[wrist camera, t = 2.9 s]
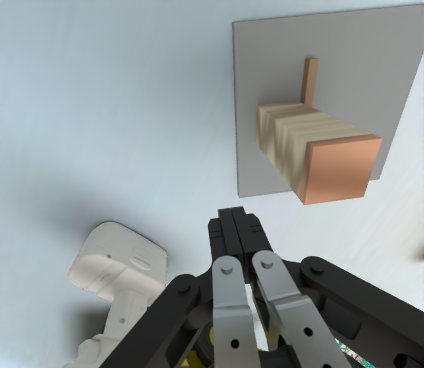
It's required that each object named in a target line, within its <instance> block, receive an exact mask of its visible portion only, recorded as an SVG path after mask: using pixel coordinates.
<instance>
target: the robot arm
mask: <svg viewBox="0 0 424 368" xmlns="http://www.w3.org/2000/svg"><path fill="white" fill-rule="evenodd" d="M208 231H209V239H210V247H211V254H212V265H211V267H210V268H209V270H208V271H206V272H205V273H204V274H202V275H200V276H197V277H195V276H193V275H190V274H182V275H179V276H177V277H175V278H174V279H173V280H172V281H171V282H170V284H169V285H168V286H167V287H166V288H165V289H164V291H163V292H162V293H161V294H160V295H159V297H158V298H157V299H156V300H155V301H154V302H153V304H152V305H151V306H150V307H149V308H148V310H147V311H146V312H145V313H144V314H143V316H142V317H141V318H140V319H139V320H138V321H137V323H136V324H135V325H134V326H133V327H132V329H131V330H130V331H129V332H128V333H127V335H126V336H125V337H124V338H123V339H122V340H121V342H120V343H119V344H118V345H117V346H116V348H115V349H114V350H113V351H112V352H111V353H110V355H109V356H108V357H107V358H106V359H105V361H104V362H103V363H102V364H101V365H100V367H99V368H180V367H181V365H182V363H183V362H184V360H185V358H186V357H187V355H188V353H189V352H190V350H191V348H192V347H193V345H194V343H195V342H196V340H197V338H198V337H199V335H200V333H201V332H202V330H203V328H204V326H205V324H207V323H208V322H210V321H212V320H213V332H214V362H215V363H214V364H212V365H211V366H209V367H208V368H366V367H364V366H363V365H362V364H360V363H359V362H358V361H357V360H355V359H354V358H353V357H351V356H349V355H348V354H346V353H345V352H343V351H342V350H341V348H340V347H339V345H338V343H337V342H336V340H335V338H336V339H337V340H339V341H340V342H341V343H343V344H344V345H346V346H347V347H348V348H350V349H351V350H352V351H354V352H355V353H357V354H358V355H359V356H361V357H362V358H363V359H365V360H366V361H368V362H369V363H370V364H372V365H373V366H374V367H376V368H424V312H423V311H421V310H419V309H417V308H415V307H414V306H412V305H410V304H408V303H406V302H404V301H402V300H400V299H398V298H396V297H395V296H393V295H391V294H389V293H387V292H385V291H383V290H381V289H379V288H377V287H376V286H374V285H372V284H370V283H368V282H366V281H364V280H362V279H360V278H358V277H357V276H355V275H353V274H351V273H349V272H347V271H345V270H343V269H341V268H339V267H338V266H336V265H334V264H332V263H330V262H328V261H326V260H324V259H322V258H320V257H316V256H309V257H306V258H304V259H303V260H302V261H301V263H298V262H291V261H286V260H283V259H281V258H280V257H279V256H278V255H277V254H276V253H274V252H273V250H272V248H271V246H270V243H269V241H268V239H267V237H266V234H265V232H264V230H263V228H262V226H261V223H260V221H259V219H258V218H257V217H256V216H255V215H254V214H253V213H252V214H246V213H245V211H244V208H243V206H240V207H232V208H225V209H218V218H215V219H210V221H209V224H208ZM244 282H245V284H250V285H251V289H252V299H253V302H254V304H255V307H256V310H257V313H258V316H259V318H260V321H261V324H262V327H263V330H264V332H265V335H266V339H267V344H268V349H269V351H262V350H258V349H257V343H256V338H255V332H254V326H253V321H252V315H251V310H250V306H248V301H247V296H246V290H245V284H244ZM334 337H335V338H334Z"/></svg>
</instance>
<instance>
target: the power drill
mask: <svg viewBox="0 0 424 368" xmlns="http://www.w3.org/2000/svg"><path fill="white" fill-rule="evenodd" d="M166 263H167V253H166V251H165V250H163V249H162V248H160V247H159V246H157V245H156V244H154V243H153V242H151V241H149V240H148V239H146V238H144V237H142V236H141V235H139V234H137V233H135V232H134V231H132V230H130V229H128V228H126V227H124V226H122V225H120V224H118V223H115V222H105V223H103V224H101V225H99V226H97V227H96V228H95V229H94V230H92V231H91V233H90V234H89V236H88V238H87V239H86V241H85V243H84V245H83V247H82V248H81V250H80V252H79V253H78V255H77V257H76V259H75V260H74V262H73V264H72V266H71V268H70V270H69V273H68V279H69V280H70V282H72V283H73V284H74V285H76V286H78V287H80V288H82V289H86V290H88V291H91V292H93V293H95V294H96V295H97V296H99V297H102V298H104V299H107V300H109V301H112V305H111V308H110V311H109V314H108V318H107V321H106V325H105V329H104V333H103V334H98V335H96V336H94V337H93V338H92V339H87V340H85V341H84V342H83V343H82V344H80V345H79V347H78V355H77V358H76V360H75V362H74V363H68V364H65V365H64V366H63V367H61V368H99V367H100V365H101V364H102V363H103V362H104V361H105V359H106V358H107V357H108V356H109V355H110V353H111V352H112V351H113V350H114V349H115V348H116V346H117V345H118V344H119V343H120V342H121V340H122V339H123V338H124V337H125V336H126V335H127V333H128V332H129V331H130V330H131V329H132V327H133V326H134V325H135V324H136V323H137V321H138V320H139V319H140V318H141V317H142V316H143V314H144V313H145V312H146V311H147V306H148V305H149V304H151V303H152V302H154V301H155V300H156V299H157V298H158V297H159V295H160V294H161V293H162V292H163V291H164V289H165V288H166Z"/></svg>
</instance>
